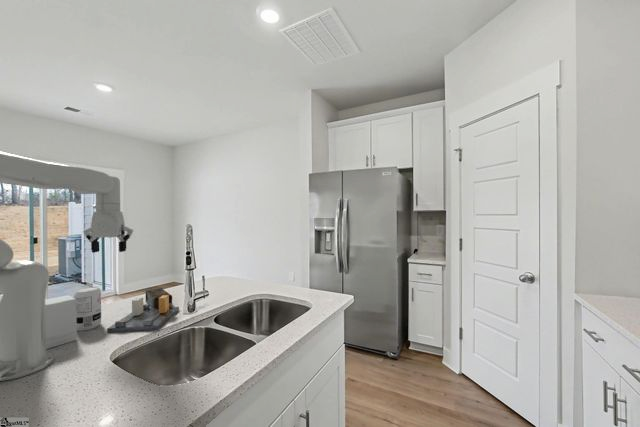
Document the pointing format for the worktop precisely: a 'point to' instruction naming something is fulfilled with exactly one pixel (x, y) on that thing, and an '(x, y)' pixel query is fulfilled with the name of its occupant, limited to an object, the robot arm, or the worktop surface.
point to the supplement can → (88, 308)
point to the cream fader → (137, 306)
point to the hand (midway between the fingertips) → (109, 251)
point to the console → (144, 320)
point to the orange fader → (163, 303)
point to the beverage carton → (156, 297)
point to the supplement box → (60, 320)
